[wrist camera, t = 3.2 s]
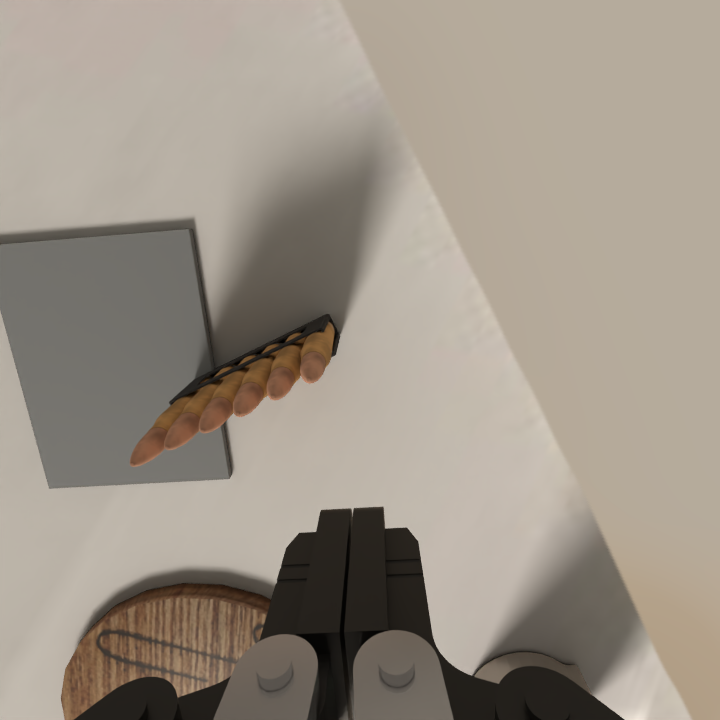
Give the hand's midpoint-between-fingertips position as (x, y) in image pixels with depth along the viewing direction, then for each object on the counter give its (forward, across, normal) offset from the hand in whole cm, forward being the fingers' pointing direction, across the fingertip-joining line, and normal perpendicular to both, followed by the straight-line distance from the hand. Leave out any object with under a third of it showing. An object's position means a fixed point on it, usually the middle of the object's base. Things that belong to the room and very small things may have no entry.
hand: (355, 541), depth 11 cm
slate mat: (+21, +18, 0) cm, 28 cm away
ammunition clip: (+21, +7, 0) cm, 22 cm away
